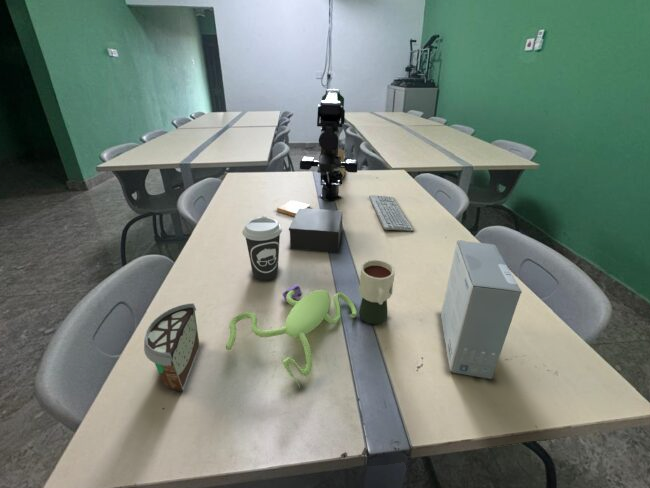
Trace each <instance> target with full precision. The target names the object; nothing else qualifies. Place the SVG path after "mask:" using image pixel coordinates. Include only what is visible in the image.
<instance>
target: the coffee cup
mask: <svg viewBox="0 0 650 488" xmlns="http://www.w3.org/2000/svg"><path fill="white" fill-rule="evenodd" d="M282 232H283V229H282V226H281V224H280V223H279V221H278V220H277V219H276V218H274V217H271V216H258V217H254V218H250V219H249V220H247V221H246V222H245V225H244V227H243V229H242V235H243V237H244V238H245V242H246V247H247V252H248V257H249V262H250V267H251V271H252V272H251V273H252V276H253V278H254V279H255V280H256V281H259V282H260V281H261V282H268V281H271V280H273V279H275V278H276V277H277V276H278V275H279V261H280V260H279V257H280V237H281V234H282Z"/></svg>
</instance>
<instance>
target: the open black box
mask: <svg viewBox="0 0 650 488" xmlns="http://www.w3.org/2000/svg"><path fill="white" fill-rule="evenodd" d="M343 214H344V213H342V215H343ZM342 232H343V218H342V219H341V224H340V229H339V234H327V233H314V232H301V231H289V247H290V250H302V251H315V252H326V253H337V254H338V253H339V249H340V245H341V244H340V243H341V238H342Z"/></svg>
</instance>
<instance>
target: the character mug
mask: <svg viewBox="0 0 650 488" xmlns="http://www.w3.org/2000/svg"><path fill="white" fill-rule="evenodd" d="M395 273H396V269H395V267H394V266H393V265H392V264H390V262H388V261H385V260H382V259H369V260H367V261H364V262H363V263H362V264H361V266H360V275H359V276H360V277H359V288H358V292H359V295H360V296H361V301H360V305H359V310H358V311H359V312H358V313H359V315H358V316H359V318H360V319H361V320H362V321H363V322H365V323H368V324H370V325H371V324H372V325H382V324H383V323H385V322H386V321H387V319H388V300H389V299H390V298H391V297H392V295H393V289H394V282H395V275H396V274H395Z"/></svg>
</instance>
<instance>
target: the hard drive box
mask: <svg viewBox="0 0 650 488" xmlns="http://www.w3.org/2000/svg"><path fill="white" fill-rule="evenodd" d="M522 293H523V291H522V289H521V288H520V286H519V284H518V283H517V280H516V279H515V277H514V275H513V274H512V272H511V270H510V268H509V267H508V265H507V263H506V262H505V260H504V258H503V256H502V254H501V253H500V252H499V249H498V248H497V246H496V245H495V244H494V243H493V244H492V243H484V242H477V241H476V242H475V241H466V240H457V241H456V245H455V249H454V254H453V257H452V261H451V268H450V271H449V277H448V280H447V286H446V290H445V294H444V299H443V302H442V303H443V304H442V307H441V314H440V318H441V325H442V330H443V337H444V343H445V349H446V356H447V361H448V366H449V371H450V372H452V373H454V374H459V375H466V376H471V377H476V378H482V379H489V380H492V379H493V377H494V374H495V371H496V368H497V365H498V362H499V359H500V356H501V353H502V350H503V347H504V345H505V341H506V338H507V335H508V332H509V329H510V327H511V323H512V321H513V317H514V314H515V312H516V310H517V305H518V303H519V300H520V297H521V295H522Z"/></svg>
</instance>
